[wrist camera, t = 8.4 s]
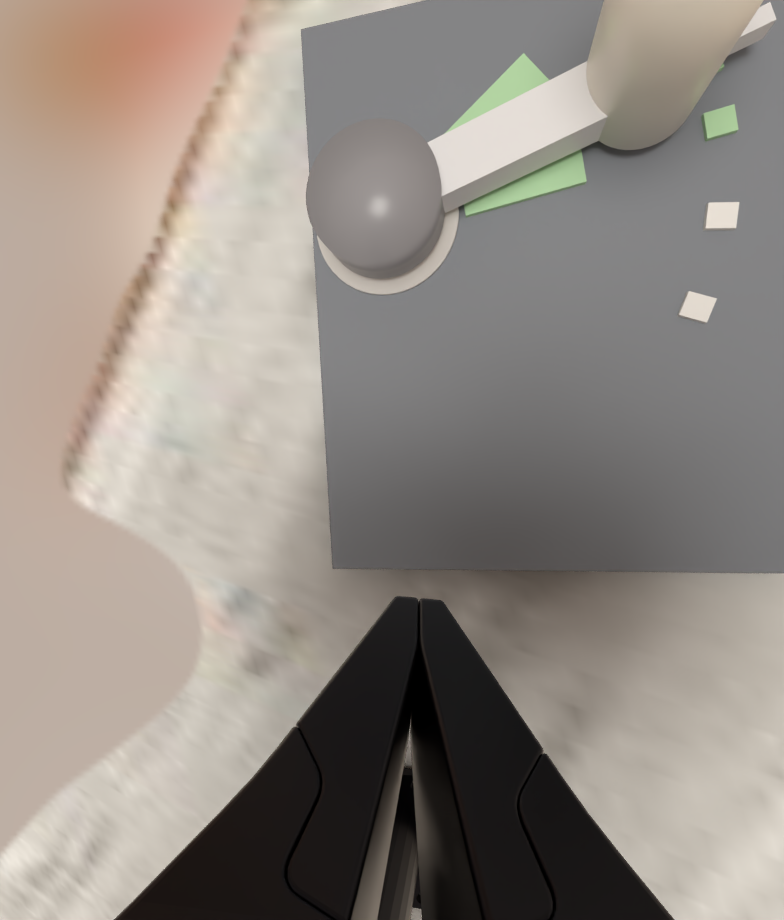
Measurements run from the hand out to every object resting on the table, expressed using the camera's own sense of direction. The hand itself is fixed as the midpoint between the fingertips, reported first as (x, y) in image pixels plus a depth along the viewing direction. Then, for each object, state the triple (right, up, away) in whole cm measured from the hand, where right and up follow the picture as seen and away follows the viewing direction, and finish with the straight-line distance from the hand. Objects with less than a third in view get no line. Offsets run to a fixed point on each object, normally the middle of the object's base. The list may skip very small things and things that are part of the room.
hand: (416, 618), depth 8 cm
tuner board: (+5, +10, +11) cm, 16 cm away
